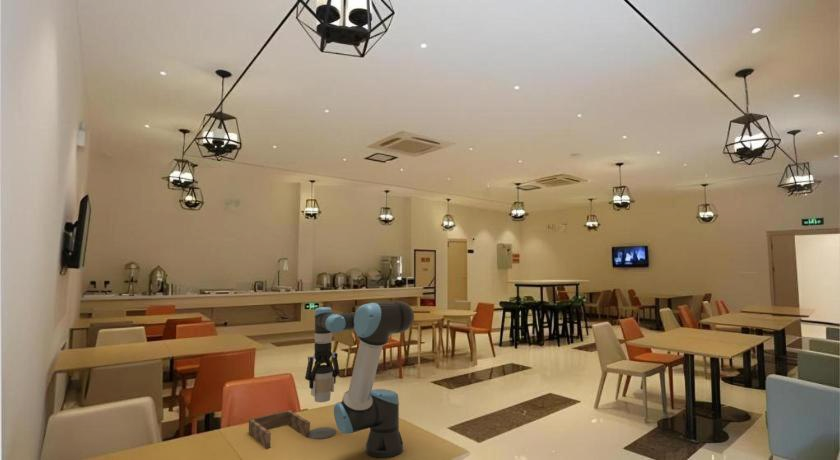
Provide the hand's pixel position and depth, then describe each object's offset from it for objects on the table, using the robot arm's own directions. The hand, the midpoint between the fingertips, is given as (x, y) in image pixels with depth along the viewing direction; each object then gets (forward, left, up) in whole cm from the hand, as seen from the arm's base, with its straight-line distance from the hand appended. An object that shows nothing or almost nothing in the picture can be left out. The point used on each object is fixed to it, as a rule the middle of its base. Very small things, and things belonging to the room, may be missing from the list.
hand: (322, 393), depth 191 cm
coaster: (0, 0, -17) cm, 17 cm away
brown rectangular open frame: (+12, +15, -17) cm, 26 cm away
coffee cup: (0, 0, -3) cm, 3 cm away
